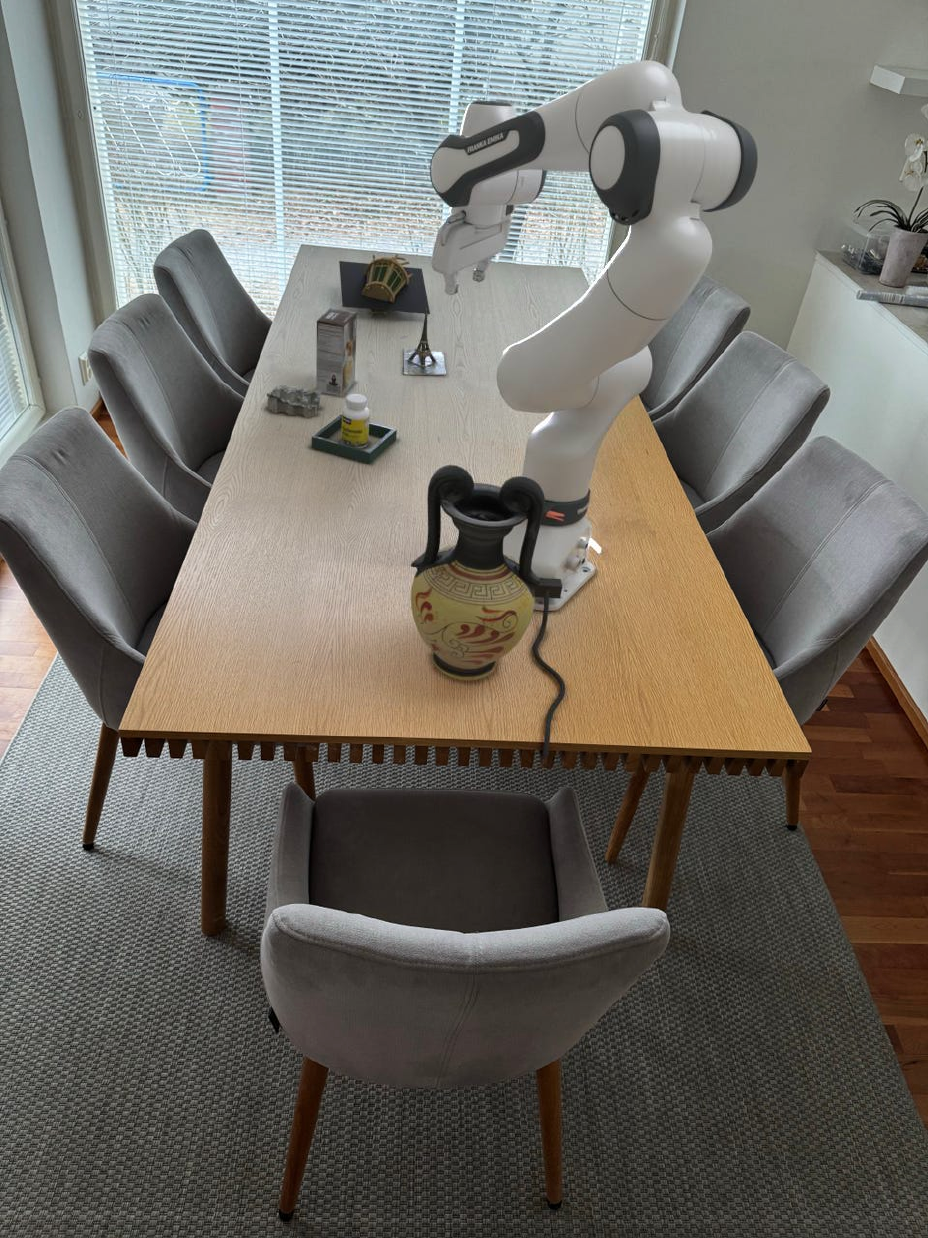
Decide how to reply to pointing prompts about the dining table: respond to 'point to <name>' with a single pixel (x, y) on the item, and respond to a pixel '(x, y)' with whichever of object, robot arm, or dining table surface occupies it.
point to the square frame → (351, 452)
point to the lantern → (383, 286)
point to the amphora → (476, 572)
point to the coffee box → (336, 351)
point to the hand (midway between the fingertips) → (464, 286)
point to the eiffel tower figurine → (423, 357)
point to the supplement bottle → (355, 421)
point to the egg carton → (294, 401)
